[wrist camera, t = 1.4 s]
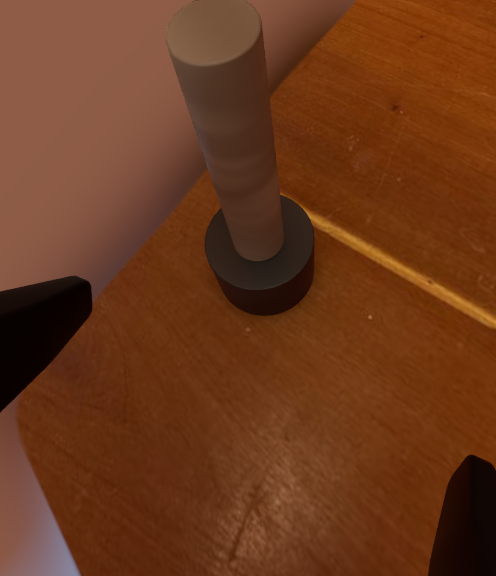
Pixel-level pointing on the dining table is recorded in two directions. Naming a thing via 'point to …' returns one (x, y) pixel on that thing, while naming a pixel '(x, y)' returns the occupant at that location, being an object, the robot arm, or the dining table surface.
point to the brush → (241, 157)
